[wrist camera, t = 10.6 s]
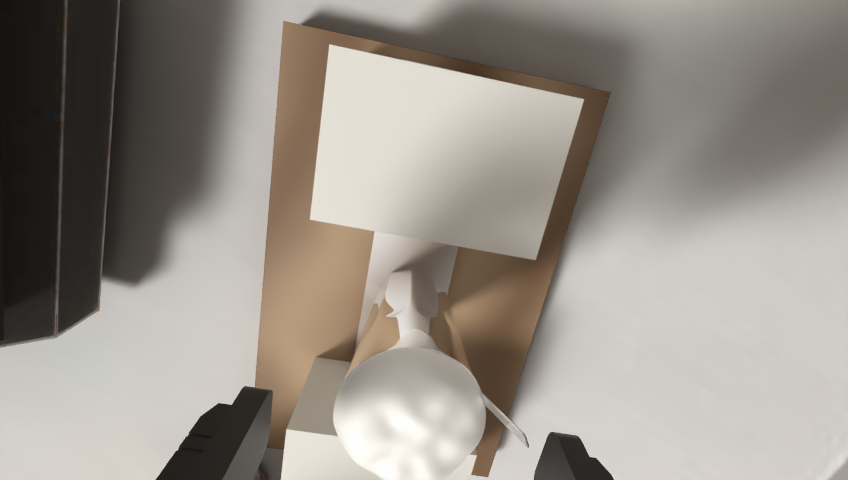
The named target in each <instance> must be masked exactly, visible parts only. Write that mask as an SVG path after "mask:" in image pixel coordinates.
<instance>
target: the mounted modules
mask: <svg viewBox="0 0 848 480" xmlns="http://www.w3.org/2000/svg"><path fill="white" fill-rule="evenodd" d="M583 102H584V99H581V98H576V97H571V96H567V95H562V94H557V93H553V92H548V91H543V90H539V89H534V88H530V87H525V86H520V85H516V84H511V83H506V82H502V81H497V80H492V79H488V78H483V77H479V76H474V75H469V74H465V73H460V72H455V71H451V70H446V69H441V68H437V67H432V66H428V65H423V64H418V63H414V62H409V61H404V60H400V59H395V58H390V57H386V56H381V55H377V54H372V53H367V52H363V51H358V50H353V49H349V48H344V47H339V46H335V45H330V44H329V52H328V61H327V70H326V79H325V88H324V97H323V106H322V115H321V124H320V133H319V141H318V150H317V159H316V168H315V177H314V186H313V195H312V204H311V213H310V220H315V221H320V222H326V223H331V224H337V225H343V226H348V227H354V228H359V229H365V230H370V231H376V232H381V233H387V234H392V235H398V236H404V237H409V238H415V239H420V240H426V241H431V242H437V243H442V244H448V245H454V246H459V247H465V248H470V249H476V250H481V251H487V252H492V253H498V254H503V255H509V256H515V257H520V258H526V259H531V260H536V258H537V254H538V251H539V248H540V244H541V241H542V238H543V234H544V231H545V228H546V224H547V221H548V218H549V215H550V211H551V208H552V205H553V201H554V198H555V195H556V191H557V188H558V185H559V181H560V178H561V175H562V171H563V168H564V165H565V161H566V158H567V155H568V152H569V148H570V145H571V142H572V138H573V135H574V132H575V128H576V125H577V122H578V118H579V115H580V112H581V108H582V105H583ZM350 363H351V362H346V361H339V360H333V359H326V358H319V357H315V360H314V362H313V365H312V367H311V370H310V372H309V374H308V377H307V379H306V382H305V384H304V387H303V389H302V392H301V394H300V397H299V399H298V402H297V404H296V407H295V409H294V412H293V414H292V416H291V419H290V421H289V424H288V426H287V429H286V437H285V446H284V455H283V464H282V473H281V480H383V479H382V478H380V477H379V476H377V475H375V474H374V473H372V472H370V471H369V470H367V469H365V468H363V467H361V466H360V465H358V464H357V463H356V462H355V461H354V460H353V459H352V458H351V457H350V456H349V454H348V453H347V451H346V450H345V448H344V446H343V445H342V443H341V441H340V439H339V437H338V435H337V432H336V430H335V427H334V422H333V412H334V405H335V400H336V397H337V393H338V391H339V388H340V386H341V384H342V381H343V379H344V377H345V374H346V372H347V370H348V367H349V365H350ZM476 457H477V454H476V448H475V449H474V450H473V451H472V452H471V453H470V454H469V455H468V456H467V457H466V459H465V460H464V461H463V462H462V463H461V464H460V466H459V467H458V468H457V469H456V470H455V471H454V472H453V473H451V474H450V475H449V476H448V477H446V478H445V479H444V480H470V477H471V473H472V470H473V467H474V463H475V460H476Z"/></svg>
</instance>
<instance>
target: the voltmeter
mask: <svg viewBox="0 0 848 480" xmlns="http://www.w3.org/2000/svg"><path fill="white" fill-rule="evenodd" d="M119 10H120V0H0V347H6V346H12V345H17V344H23V343H29V342H35V341H41V340H46V339H52V338H57V337H58V336H60V335H61V334H63V333H65V332H66V331H68V330H69V329H71V328H72V327H74V326H76V325H77V324H79V323H80V322H82V321H83V320H85V319H86V318H88V317H90V316H91V315H93V314H94V313H96V312H97V311H99V308H100V293H101V279H102V264H103V250H104V235H105V221H106V207H107V192H108V178H109V163H110V148H111V133H112V117H113V102H114V87H115V71H116V56H117V41H118V25H119Z"/></svg>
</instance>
